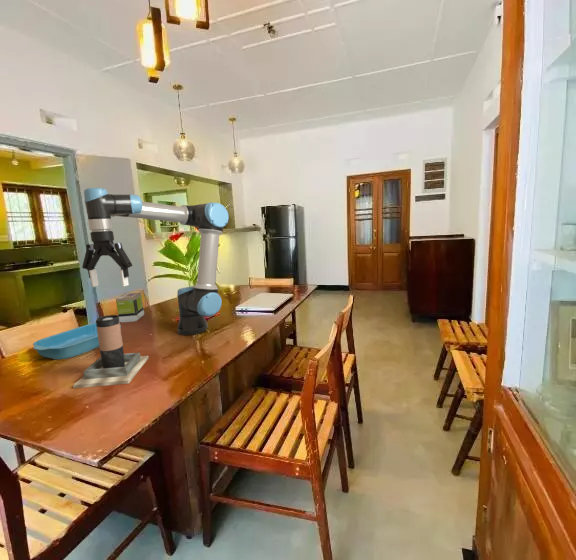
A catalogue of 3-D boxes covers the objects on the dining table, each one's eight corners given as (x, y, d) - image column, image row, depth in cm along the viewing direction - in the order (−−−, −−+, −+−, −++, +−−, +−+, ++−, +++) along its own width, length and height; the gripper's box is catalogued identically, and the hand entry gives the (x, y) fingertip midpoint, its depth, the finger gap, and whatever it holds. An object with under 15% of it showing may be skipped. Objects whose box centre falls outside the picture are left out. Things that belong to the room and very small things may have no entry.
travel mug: (130, 365, 124) (123, 315, 121) (113, 374, 117) (106, 321, 114) (115, 363, 127) (108, 314, 123) (98, 372, 120) (90, 320, 116)
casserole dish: (56, 367, 129) (53, 350, 128) (23, 360, 138) (20, 344, 137) (132, 337, 163) (130, 323, 162) (101, 332, 172) (100, 319, 170)
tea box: (128, 315, 203) (125, 293, 201) (144, 314, 204) (142, 291, 202) (118, 322, 189) (115, 298, 186) (136, 321, 190) (133, 297, 187)
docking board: (148, 358, 134) (147, 348, 133) (128, 383, 112) (127, 372, 112) (102, 362, 132) (101, 352, 131) (73, 388, 110) (71, 376, 110)
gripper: (137, 228, 122) (144, 283, 126) (81, 232, 128) (90, 284, 132) (123, 229, 115) (132, 287, 119) (65, 232, 120) (75, 288, 124)
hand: (110, 286), depth 125 cm, fingers open, 13 cm apart
